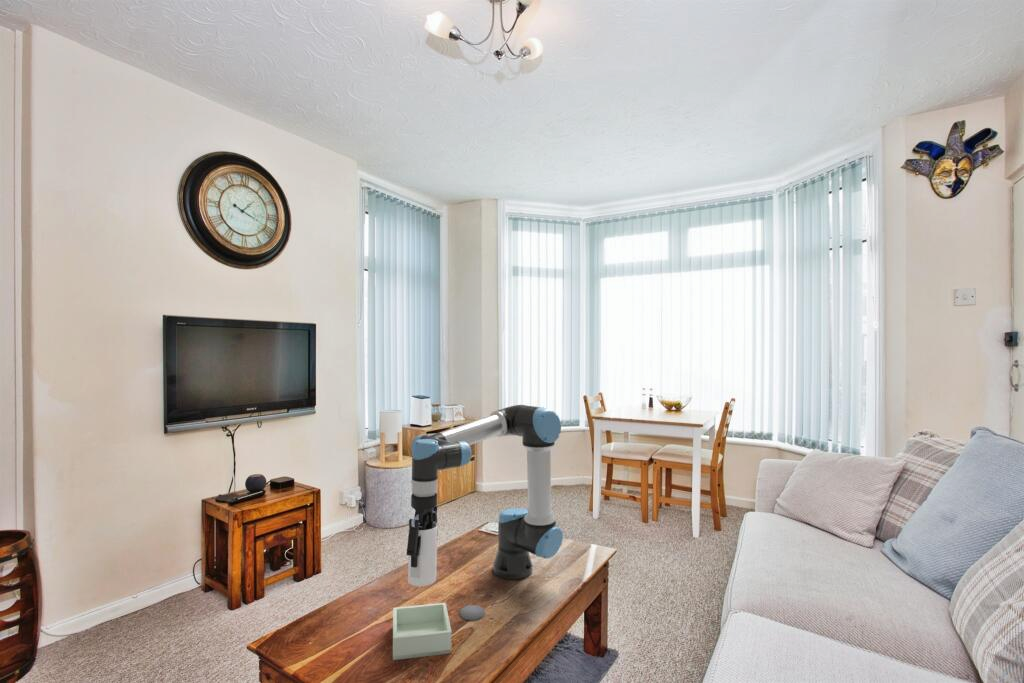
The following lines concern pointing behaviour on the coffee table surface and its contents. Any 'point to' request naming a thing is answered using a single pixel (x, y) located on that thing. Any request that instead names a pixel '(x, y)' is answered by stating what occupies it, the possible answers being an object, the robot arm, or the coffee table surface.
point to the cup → (426, 558)
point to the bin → (421, 631)
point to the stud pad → (472, 612)
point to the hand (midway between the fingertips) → (422, 570)
